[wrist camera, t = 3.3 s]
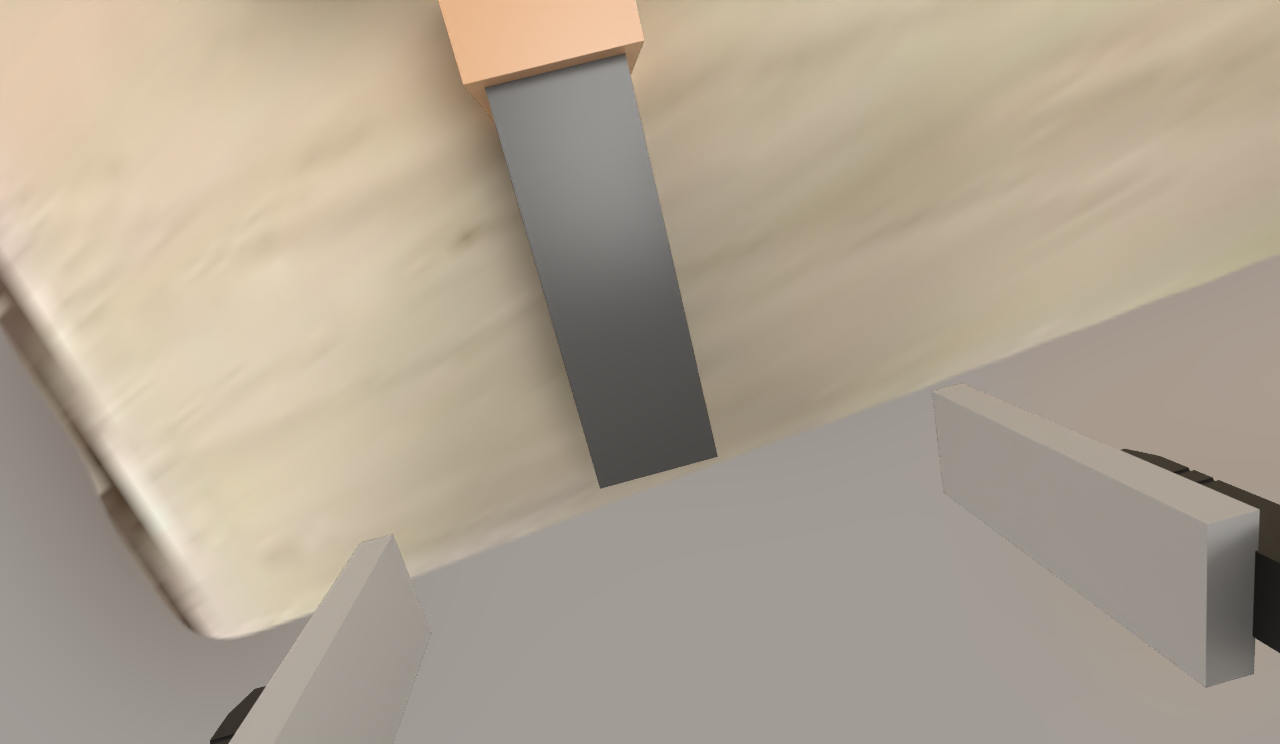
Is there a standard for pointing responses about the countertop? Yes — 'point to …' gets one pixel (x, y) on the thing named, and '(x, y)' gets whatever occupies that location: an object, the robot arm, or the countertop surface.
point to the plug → (591, 219)
